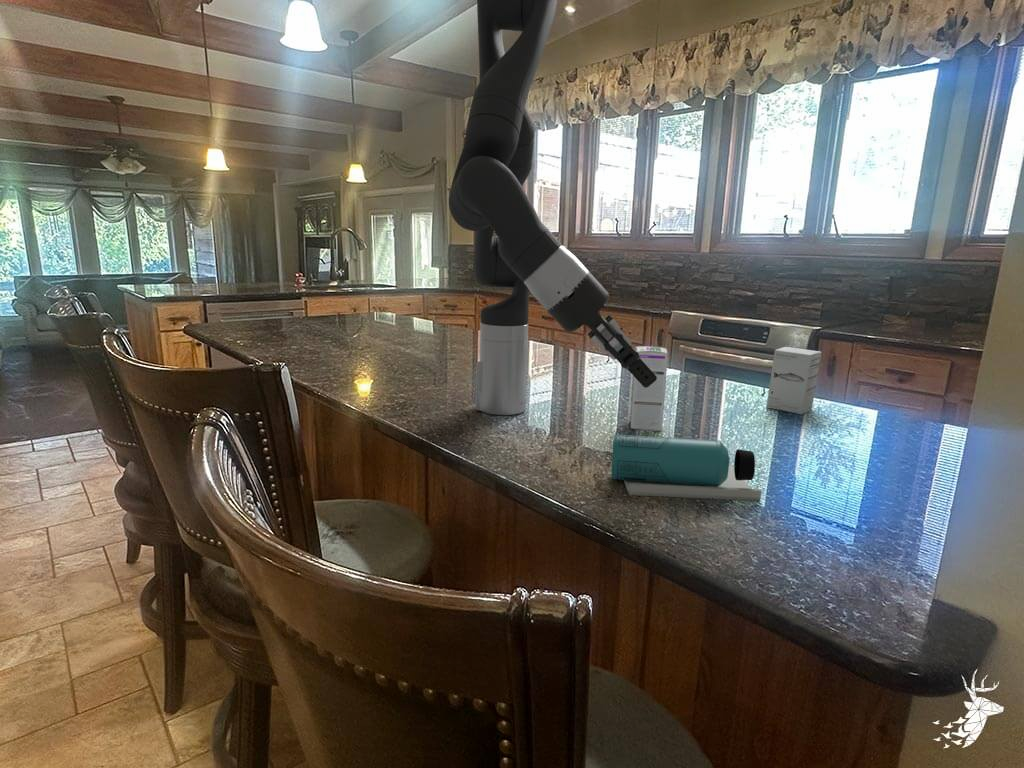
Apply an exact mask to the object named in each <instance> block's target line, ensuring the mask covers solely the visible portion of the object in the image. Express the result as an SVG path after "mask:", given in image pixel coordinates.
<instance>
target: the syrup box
mask: <svg viewBox="0 0 1024 768" xmlns="http://www.w3.org/2000/svg"><path fill="white" fill-rule="evenodd" d="M634 351H637V352H638V354H639V355H640V359H641V360H642V361H643V362H644V363H645V364H646V365H647V367H648V368H649V369H650V370H651V371H652V372H653V373H654V374H655V375H656V377H657V379H656V381H655V382H654V383H652V384H651V385H650V386H649V387H647V388H645V387H643V386H642V385H641V383H640V382H639V381H638V380H637V379H636V378H635V377H634V376H633V375H632V376H633V377H632V379H633V380H632V390H631V391H632V392H631V395H632V396H631V397H632V398H631V406H630V407H631V409H630V411H631V412H630V429H633V430H639V431H651V432H653V431H654V432H662V430H663V423H664V412H665V398H666V387H667V386H666V385H667V373H668V371H667V370H668V369H667V368H668V356H669V355H668V350H667V348H666V347H660V346H646V345H645V346H643V345H642V346H635V350H634Z"/></svg>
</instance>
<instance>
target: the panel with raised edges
mask: <svg viewBox="0 0 1024 768" xmlns="http://www.w3.org/2000/svg"><path fill="white" fill-rule="evenodd" d="M730 459H731V457H730V456H729V462H730V461H731V460H730ZM623 481H624V485H625V487H626V490H627V492H628V495H629V496H640V497H642V496H644V497H645V496H646V497H647V496H648V497H663V496H664V497H666V496H667V497H666V498H687V499H707V500H709V498H710V499H712V498H713V499H714V500H729V501H730V500H732V499H733V501H734V499H735V501H753V500H755V502H757V501H758V502H759V501H761V497H762V489H760V488H752V487H751V486H750V485H749V483H747V482H746V481H747V480H736V479H735V473H734V466H732V465H731V464H730V463H729V470H728V476H727V479H726V480H725V481H724V482H723V483H722V484H721V485H720V486H718V487H714V486H705V485H691V484H674V485H673V484H672V483H659V482H655V483H654V482H652V483H651V482H646V481H632V480H623ZM630 481H631V482H630ZM643 482H645V483H643ZM656 483H657V484H656ZM713 499H712V500H713ZM756 500H757V501H756Z"/></svg>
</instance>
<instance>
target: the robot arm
mask: <svg viewBox="0 0 1024 768" xmlns="http://www.w3.org/2000/svg"><path fill="white" fill-rule="evenodd" d="M557 3H558V0H476V4H477V6H476V7H477V9H476V11H477V36H478V37H477V38H478V39H477V41H478V59H479V61H478V63H479V66H478V68H479V82H478V85H477V86H476V89H475V90H474V93H473V96H472V100H471V103H470V109H469V114H468V117H467V118H468V119H467V122H466V123H467V124H466V128H465V129H466V130H465V137H464V143H463V146H462V151H461V153H460V156H459V159H458V162H457V165H456V169H455V172H454V175H453V179H452V182H451V186H450V189H449V195H448V209H449V212H450V215H451V217H452V218H453V220H454V222H455V223H456V224H457V225H458V226H459V227H462V229H465V230H468V231H472V232H475V235H474V236H475V237H474V249H473V274H474V279H475V281H476V283H477V284H478V286H481V287H486V288H487V287H488V288H489V287H490V288H493V287H495V288H512V291H511V293H510V294H509V296H507V297H505V298H504V299H502V300H501V301H500V300H499V301H498V302H495V303H492V304H489V305H486V306H484V307H482V308H481V310H480V321H479V322H480V332H479V333H480V335H479V336H480V337H479V338H480V339H479V340H480V341H479V361H477V362H476V363H475V403H474V404H475V405H474V408H475V410H476V411H480V412H482V413H486V414H490V415H495V416H496V415H498V416H509V415H510V416H511V415H517V414H518V415H519V414H521V413H523V412H525V411H526V402H527V398H526V395H527V394H526V392H527V375H528V373H527V369H528V345H529V343H528V340H529V339H528V338H529V315H530V314H529V313H530V312H529V310H530V309H529V307H530V293H531V295H532V296H533V297H534V298H535V300H537V302H538V303H539V304H540V305H541V306H542V307H543V308H544V309H545V310H546V312H547V313H548V314H550V316H551V317H552V318H553V319H554V320H555V321H556V322H557V323H558V324H559V326H560V327H561V328H562V329H563V330H564V331H565V332H566V333H573V332H575V331H577V330H579V329H580V328H581V327H582V326H587V327H588V328H589V330H590V331H589V332H588V333H587V336H588V338H589V339H590V340H591V341H592V343H594V344H595V345H596V346H597V347H600V348H601V349H602V350H603V351H604V352H605V354H607V356H609V358H610V359H611V360H616V361H618V363H620V366H621V368H622V369H625V370H626V371H629V373H630V374H631V375H632V376H634V377H635V378H636V379H637V380H638V381H639V382H640V383H641V385H642V386H643V387H645V388H647V387H649V386H650V385H651V384H652V383H654V382H655V381H656V379H657V377H656V375H655V374H654V373H653V372H652V371H651V370H650V369H649V368H648V367H647V365H646V364H645V363H644V362H643V361H642V360H641V359H640V355H639V354H638V352H637V351H635V350H634V348H633V346H632V343H633V342H632V341H631V339H629V337H628V336H627V335H626V334H625V333H624V332H623V330H622V329H621V327H620V325H619V324H618V323H617V321H616V320H615V319H614V318H613V317H612V316H611V315H610V314H608V315H607V316H605V317H603V315H602V314H601V309H602V308H603V307H604V306H605V305H606V303H607V302H608V301H609V298H610V293H609V292H608V291H607V289H605V288H604V287H603V285H602V284H601V283H600V281H598V280H597V279H596V278H595V277H594V275H593V274H592V272H590V270H589V269H587V268H586V267H585V265H584V264H583V262H582V261H580V260H579V259H578V257H576V255H575V254H573V253H572V252H571V251H570V250H569V249H567V248H566V247H565V246H564V245H562V243H561V241H560V240H559V239H557V237H556V236H555V235H554V234H553V233H552V232H551V231H550V229H549V228H548V227H547V226H546V225H545V224H544V223H543V222H542V221H541V219H540V218H539V216H538V214H537V212H536V210H535V207H534V205H533V204H532V202H531V200H530V199H529V196H528V195H527V193H526V191H525V189H524V188H523V185H524V184H525V182H526V180H527V179H528V177H529V175H530V173H531V172H532V171H531V170H532V167H533V159H534V158H533V157H534V144H535V132H536V131H535V125H534V124H535V123H534V121H533V118H532V116H531V113H530V110H529V108H528V106H527V104H526V103H527V100H528V96H529V94H530V93H529V92H530V88H531V85H532V83H533V80H534V78H535V75H536V72H537V70H538V67H539V64H540V62H541V59H542V55H543V52H544V50H545V47H546V44H547V40H548V37H549V34H550V31H551V29H552V26H553V25H552V24H553V21H554V18H555V15H556V10H557V9H556V8H557ZM503 30H504V31H514V32H521V33H520V35H519V36H518V38H517V39H516V41H515V42H514V43H513V45H512V46H510V48H509V49H508V50H507V51H506V52H505V47H504V40H503ZM494 233H495V236H494Z"/></svg>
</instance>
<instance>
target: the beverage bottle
mask: <svg viewBox="0 0 1024 768" xmlns="http://www.w3.org/2000/svg"><path fill="white" fill-rule="evenodd" d="M611 455H612V456H611V479H614V480H616V481H620V482H622V481H624V480H632V481H646V482H651V483H652V482H654V483H655V482H659V483H672V484H673V485H674V484H691V485H705V486H714V487H718V486H720V485H721V484H722V483H723V482H724V481H725V480H726V479H727V476H728V470H729V464H730V461H729V457H730V456H729V450H728V448H727V447H726V446H725V445H724V444H723V443H722V442H721V441H720V440H719V439H718V440H717V439H715V440H711V439H710V440H709V439H707V440H706V439H695V438H694V439H692V438H679V437H676V436H675V437H671V436H669V437H667V436H664V435H662V436H655V435H652V436H651V435H649V436H648V434H646V435H637V434H629V433H626V434H624V433H623V434H622V433H621V434H614V435H613V442H612V454H611ZM733 464H734V465H733V468H734V473H735V479H736V480H745V481H752V480H754V476H755V473H756V471H755V470H756V458H755V454H754V452H753V451H752V450H746V449H739V448H738V449H736V451H735V453H734V462H733ZM630 482H631V481H630ZM643 483H645V482H643ZM656 484H657V483H656Z"/></svg>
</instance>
